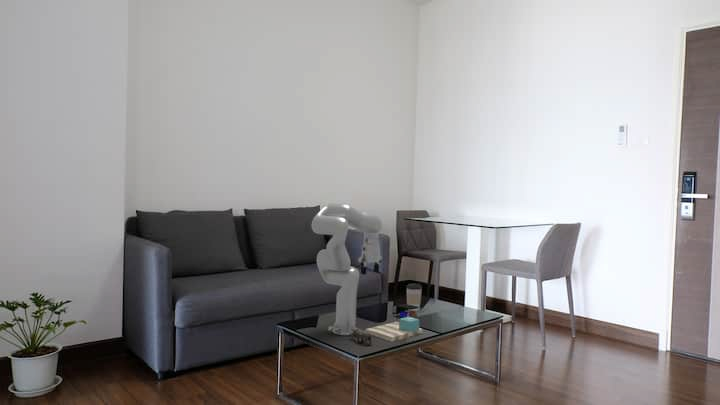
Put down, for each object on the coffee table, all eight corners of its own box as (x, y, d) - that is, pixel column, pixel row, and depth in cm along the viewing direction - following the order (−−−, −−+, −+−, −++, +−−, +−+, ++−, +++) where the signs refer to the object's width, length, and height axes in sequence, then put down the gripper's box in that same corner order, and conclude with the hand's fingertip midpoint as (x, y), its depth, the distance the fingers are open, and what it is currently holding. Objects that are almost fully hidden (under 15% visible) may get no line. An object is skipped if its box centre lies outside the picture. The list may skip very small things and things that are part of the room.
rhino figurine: (353, 337, 236) (354, 324, 236) (373, 345, 226) (374, 331, 226) (346, 339, 234) (347, 326, 234) (366, 347, 223) (367, 333, 223)
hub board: (392, 341, 232) (392, 329, 232) (365, 333, 244) (365, 321, 244) (422, 333, 247) (422, 321, 247) (396, 325, 259) (396, 314, 259)
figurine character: (391, 318, 279) (410, 321, 267) (390, 304, 279) (410, 306, 268) (400, 317, 283) (420, 319, 271) (399, 303, 284) (419, 305, 272)
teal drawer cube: (409, 332, 241) (410, 321, 241) (398, 329, 246) (399, 318, 245) (419, 329, 245) (419, 319, 245) (408, 326, 250) (408, 316, 250)
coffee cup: (403, 308, 298) (404, 282, 298) (417, 307, 301) (418, 282, 300) (409, 311, 289) (410, 285, 289) (423, 311, 292) (424, 285, 292)
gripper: (364, 242, 260) (363, 276, 261) (387, 240, 273) (386, 272, 273) (354, 241, 266) (353, 273, 266) (377, 239, 278) (376, 270, 278)
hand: (369, 273), depth 270 cm, fingers open, 9 cm apart
